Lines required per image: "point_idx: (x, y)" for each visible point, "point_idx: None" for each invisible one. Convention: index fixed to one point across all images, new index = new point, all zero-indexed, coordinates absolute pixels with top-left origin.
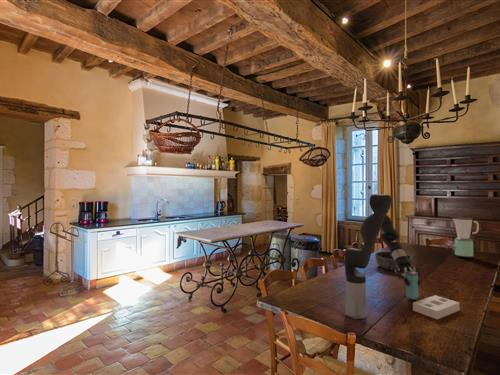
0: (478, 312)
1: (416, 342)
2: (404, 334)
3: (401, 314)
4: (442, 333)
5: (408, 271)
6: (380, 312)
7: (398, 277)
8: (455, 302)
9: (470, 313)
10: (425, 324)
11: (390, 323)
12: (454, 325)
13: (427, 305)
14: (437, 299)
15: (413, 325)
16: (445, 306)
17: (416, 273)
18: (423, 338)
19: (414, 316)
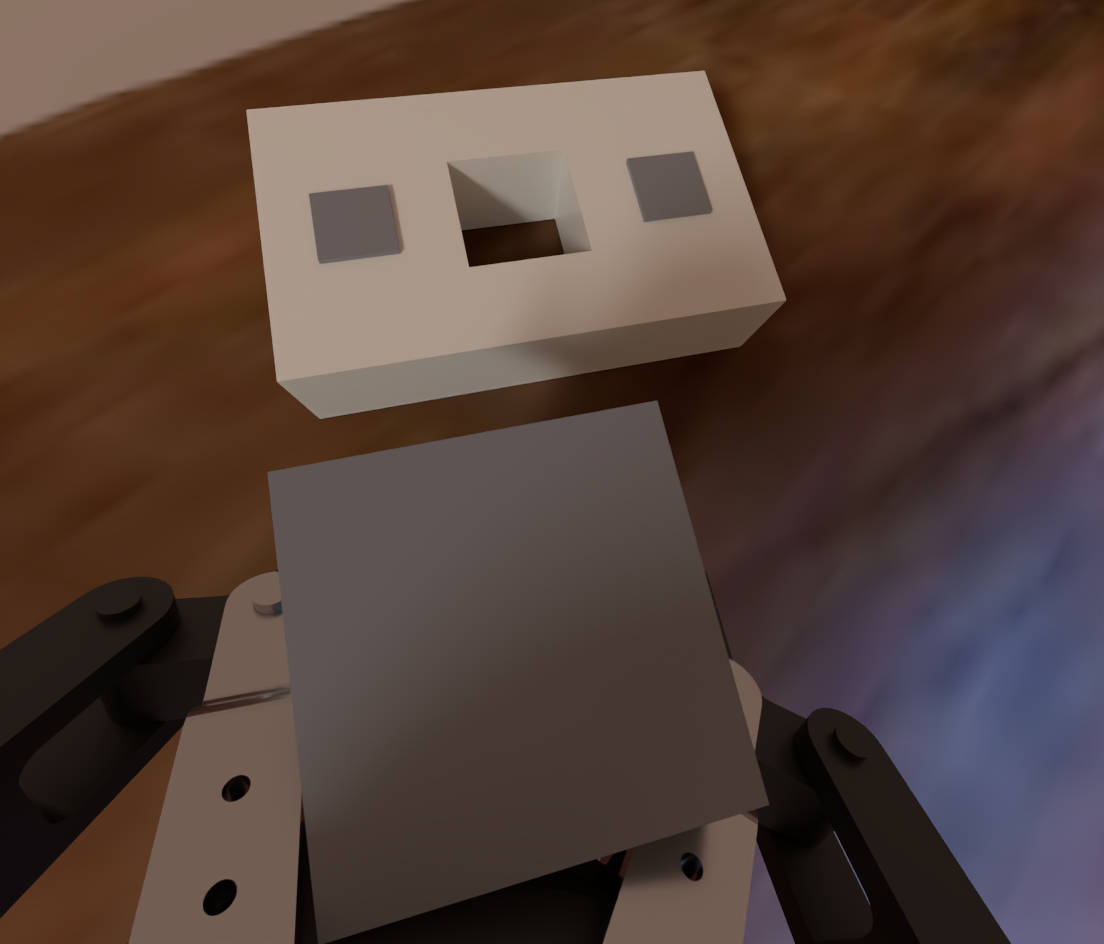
0: (161, 100)
1: (1048, 12)
2: (1067, 94)
3: (904, 320)
4: (813, 14)
5: (553, 828)
6: (1070, 420)
7: (829, 854)
8: (287, 127)
9: None
10: (831, 130)
11: (1083, 233)
12: (630, 44)
13: (693, 180)
14: (405, 263)
15: (931, 151)
16: (515, 105)
17: (393, 456)
18: (978, 23)
19: (817, 252)
